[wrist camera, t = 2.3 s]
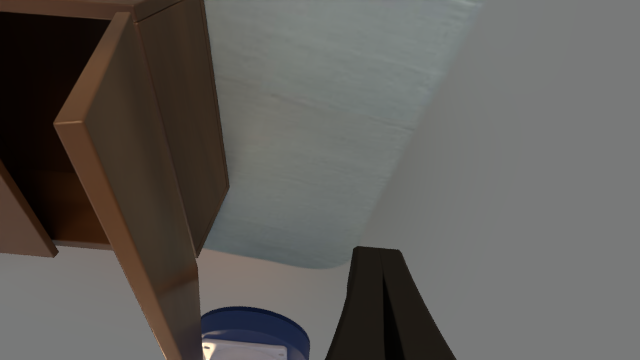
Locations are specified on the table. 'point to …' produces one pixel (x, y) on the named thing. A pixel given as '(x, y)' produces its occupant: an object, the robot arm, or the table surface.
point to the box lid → (134, 186)
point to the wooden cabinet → (53, 90)
